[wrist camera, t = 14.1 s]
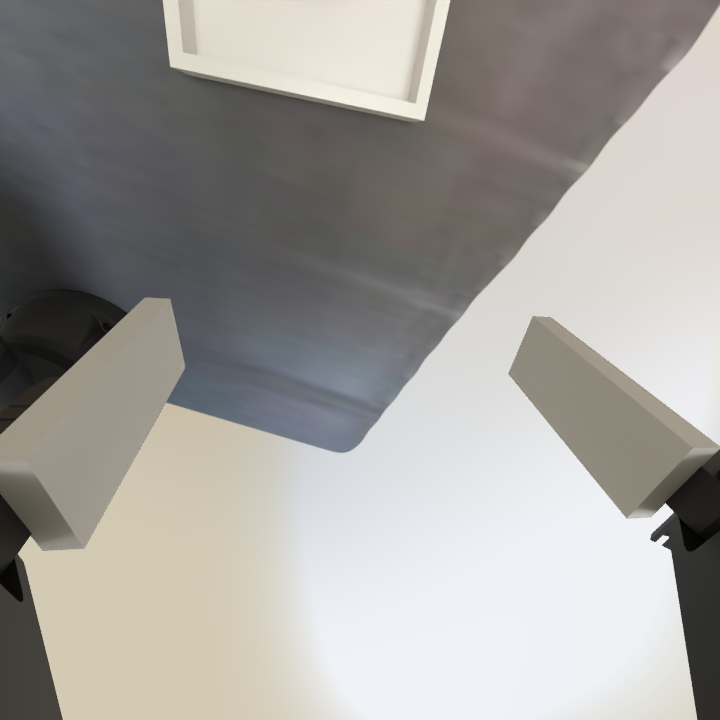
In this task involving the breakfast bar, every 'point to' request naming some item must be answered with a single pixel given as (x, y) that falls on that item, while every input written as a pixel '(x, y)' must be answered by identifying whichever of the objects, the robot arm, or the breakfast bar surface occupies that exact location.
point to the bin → (314, 49)
